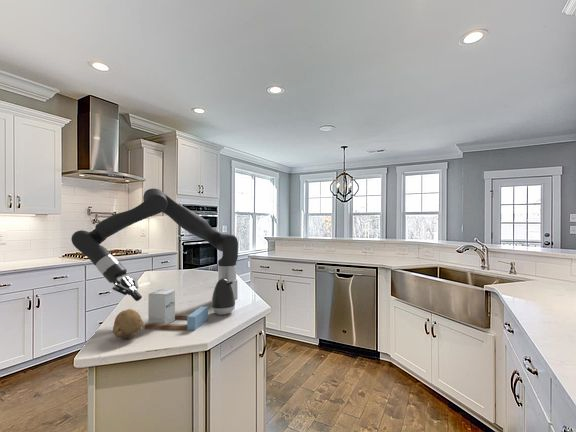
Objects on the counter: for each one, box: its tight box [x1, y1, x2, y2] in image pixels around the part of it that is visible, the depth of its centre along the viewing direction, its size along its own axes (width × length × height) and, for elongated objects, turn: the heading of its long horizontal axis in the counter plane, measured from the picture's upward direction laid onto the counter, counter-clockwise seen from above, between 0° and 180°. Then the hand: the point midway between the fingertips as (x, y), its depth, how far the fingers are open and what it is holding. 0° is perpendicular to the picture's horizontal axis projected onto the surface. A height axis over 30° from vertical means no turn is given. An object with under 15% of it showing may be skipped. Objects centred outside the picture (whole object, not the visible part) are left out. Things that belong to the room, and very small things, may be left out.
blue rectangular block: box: [186, 306, 209, 331], centre depth 120 cm, size 3×13×5 cm, turn 174°
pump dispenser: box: [210, 278, 236, 316], centre depth 133 cm, size 10×10×15 cm
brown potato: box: [112, 308, 144, 340], centre depth 106 cm, size 9×9×10 cm
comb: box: [143, 313, 190, 331], centre depth 121 cm, size 17×13×2 cm
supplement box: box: [147, 289, 176, 324], centre depth 122 cm, size 7×7×13 cm
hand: (139, 299), depth 122 cm, fingers closed
